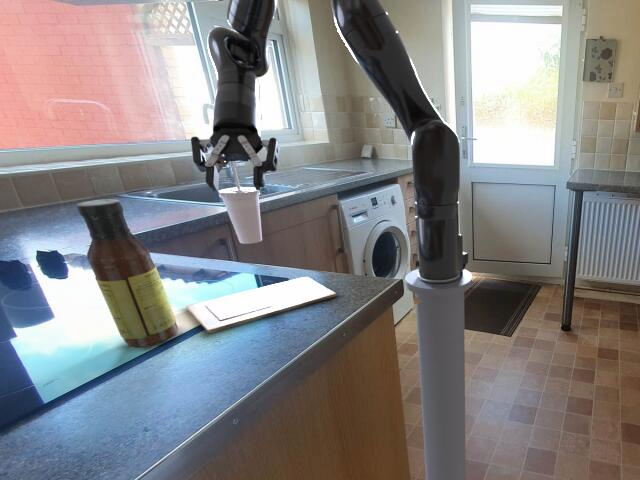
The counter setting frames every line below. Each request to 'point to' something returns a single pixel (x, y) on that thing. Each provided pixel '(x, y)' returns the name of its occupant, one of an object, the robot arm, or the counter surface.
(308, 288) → the wooden board
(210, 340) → the counter surface
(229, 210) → the smoothie
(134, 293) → the sauce bottle
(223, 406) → the counter surface
